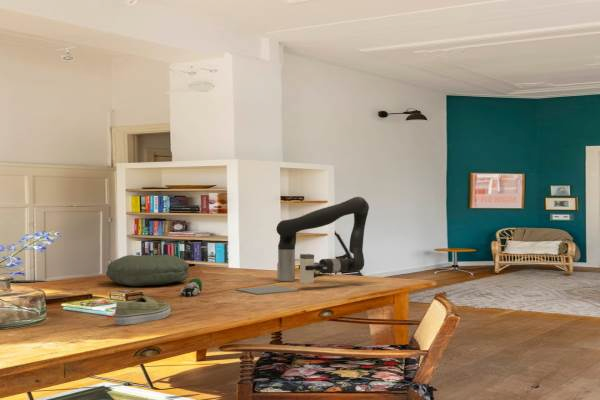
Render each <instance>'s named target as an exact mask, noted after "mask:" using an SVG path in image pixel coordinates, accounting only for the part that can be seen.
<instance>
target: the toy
mask: <svg viewBox="0 0 600 400" xmlns="http://www.w3.org/2000/svg"><path fill="white" fill-rule="evenodd" d="M202 283H203V282H202V281H201V279H200V278H197V277H195V278H194V277H193V278H191V279H190V280H189V282H188V283H187V284H186V286H183V287H181V289H180V290H179V291H180V296H181V297H183V298H185V296H187V297H188V298H191V297H193V296H194V297H195V296H197V295H199V294H200V293H201V292H202V289H203V284H202Z"/></svg>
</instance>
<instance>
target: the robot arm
mask: <svg viewBox="0 0 600 400" xmlns="http://www.w3.org/2000/svg"><path fill="white" fill-rule="evenodd" d="M369 209H370V206H369V203H368V201H367V200H366V199H365V198H364V197H361V196H355V197H352V198H349V199H347V200H345V201H342V202H339V203H337V204H333V205H329V206H326V207H323V208H320V209H316V210H313V211H311V212H309V213H306V214H303V215H301V216H298V217H295V218H289V219H284V220H281V221H279V222H278V224H277V226H276V233H277V234H278V235H279V242H278V246H277V251H278V252H277V253H278V255H277V263H276V267H277V268H276V269H277V270H276V271H277V272H276V273H277V274H276V275H277V277H276V279H277V281H279V282H295V281H296V245H297V233H298V232H301V231H305V230H311V229H316V228H321V227H325V226H328V225H330V224H333V223H334V222H336V221H337V220H339V219H341V218H342V217H344V216H348V215H352V214H353V227H352V230H351V234H350V238H349V249H348V250H349V253H350V254H352V257H351V258H321V259H320V260H319V261H318V262H314V265H312V266H305V270H313V271H314V270H315V271H320V272H321V273H322V275H326V274H327V275H330V273H332V274H337V273H344V272H345V273H351V272H353V273H354V272H359V271H362V270H363V269H364V267H365V258H364V251H363V248H364V239H365V238H364V236H365V228H366V223H367V222H366V221H367V218H368V214H369ZM298 270H300V264H298ZM321 273H320V274H321Z"/></svg>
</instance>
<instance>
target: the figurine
mask: <svg viewBox="0 0 600 400" xmlns="http://www.w3.org/2000/svg"><path fill="white" fill-rule="evenodd" d="M332 274H333V273H329V275H332ZM322 275H323V274H322V273H321V272H320V271H315V270H314V277H318V276H321V277H322Z"/></svg>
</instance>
